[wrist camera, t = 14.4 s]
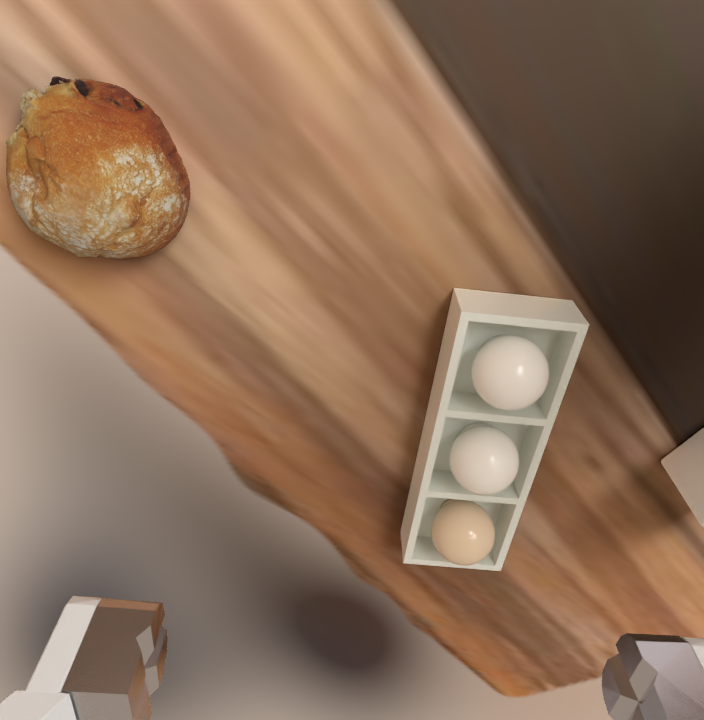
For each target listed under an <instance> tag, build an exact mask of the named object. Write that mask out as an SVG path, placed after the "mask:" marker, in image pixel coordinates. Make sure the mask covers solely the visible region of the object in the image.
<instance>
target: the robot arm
mask: <svg viewBox="0 0 704 720" xmlns="http://www.w3.org/2000/svg"><path fill="white" fill-rule="evenodd" d="M164 615H165V613H164V608H163V603H158V602H146V601H133V600H119V599H107V598H98V597H83V596H73V597H72V598H71V599H70V600H69V602H68V603H67V604H66V605H65V607H64V609H63V611H62V613H61V615H60V618H59V620H58V622H57V624H56V626H55V628H54V630H53V632H52V634H51V636H50V638H49V641H48V643H47V645H46V647H45V649H44V651H43V653H42V655H41V658H40V659H39V662H38V664H37V666H36V668H35V670H34V672H33V674H32V676H31V678H30V681H29V683H28V685H27V687H26V689H25V690H15V691H14V692H13V693H11V694H10V695H9V696H8V697H7V698H5V699H4V700H3V701H2V702H1V703H0V720H150V717H151V706H150V699H149V696H150V695H151V694H152V693H153V692H154V691H155V690H156V689H157V688H158V687H159V686H160V682H161V678H162V675H163V671H164V666H165V660H166V654H167V630H166V629H164V628H163V627H162V626H161V625H162V622H163V619H164ZM616 646H617V649H618V652H619V653H618V654H617V655H615V656H613V657H611V658H609V659H608V660H607V662H606V665H605V667H604V669H603V672H602V690H603V696H604V700H605V704H606V707H607V710H608V713H609V715H610V716H611V717H612V718H613V720H704V638H692V637H679V636H670V635H649V634H629V633H627V634H624V635H622V636H620V638H619V640H618V642H617V643H616Z"/></svg>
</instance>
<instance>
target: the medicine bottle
mask: <svg viewBox="0 0 704 720" xmlns="http://www.w3.org/2000/svg"><path fill="white" fill-rule="evenodd" d="M661 464H662V465H663V467H664V468H665V470H666V472H667V473H668V475H669V476H670V478H671V479H672V481H673V483H674V484H675V486H676V487H677V489H678V490H679V492H680V494H681V495H682V497H683V498H684V500H685V501H686V503H687V504H688V506H689V508H690V509H691V511H692V512H693V514H694V515H695V517H696V519H697V520H698V522H699V523H700V525H701V526H702V527H703V528H704V428H702V429H701V430H700V431H698V432H697V433H696V434H694V435H693V436H692V437H691V438H689V439H688V440H687V441H685V442H684V443H683V444H681V445H680V446H679V447H677V448H676V449H675V450H673V451H672V452H671V453H670V454H668V455H667V456H666V457H664V458H663V459H662V460H661Z"/></svg>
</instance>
